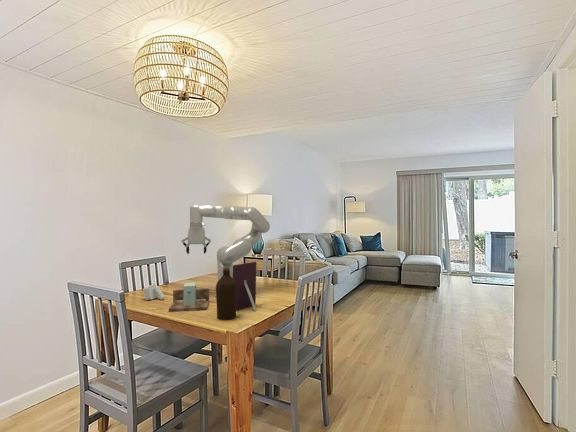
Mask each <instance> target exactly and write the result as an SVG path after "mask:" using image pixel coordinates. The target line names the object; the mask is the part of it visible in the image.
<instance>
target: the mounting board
mask: <svg viewBox="0 0 576 432" xmlns="http://www.w3.org/2000/svg"><path fill="white" fill-rule="evenodd" d="M172 301H173V302H172V304H171V305H170V307H168V312H169V313H171V312H172V313H174V312H176V313H177V312H194V311H208V308H209V305H210V288H196V304H195V306H184V289H173V290H172Z"/></svg>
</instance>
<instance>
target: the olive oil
mask: <svg viewBox="0 0 576 432" xmlns="http://www.w3.org/2000/svg"><path fill="white" fill-rule="evenodd" d="M229 269H230V268H228V267H226V268H223V276H222V277H221V278H220V280H219V281H218V280H217V282H216V285H215V295H216V297H215V298H216V318H217V320H219V321H220V320H222V321H228V320H234V319H235V318H236V317H237V311H236V299H237V284H236V281H235V280H234V279H233V278H232V277H231V276H230V270H229Z"/></svg>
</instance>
